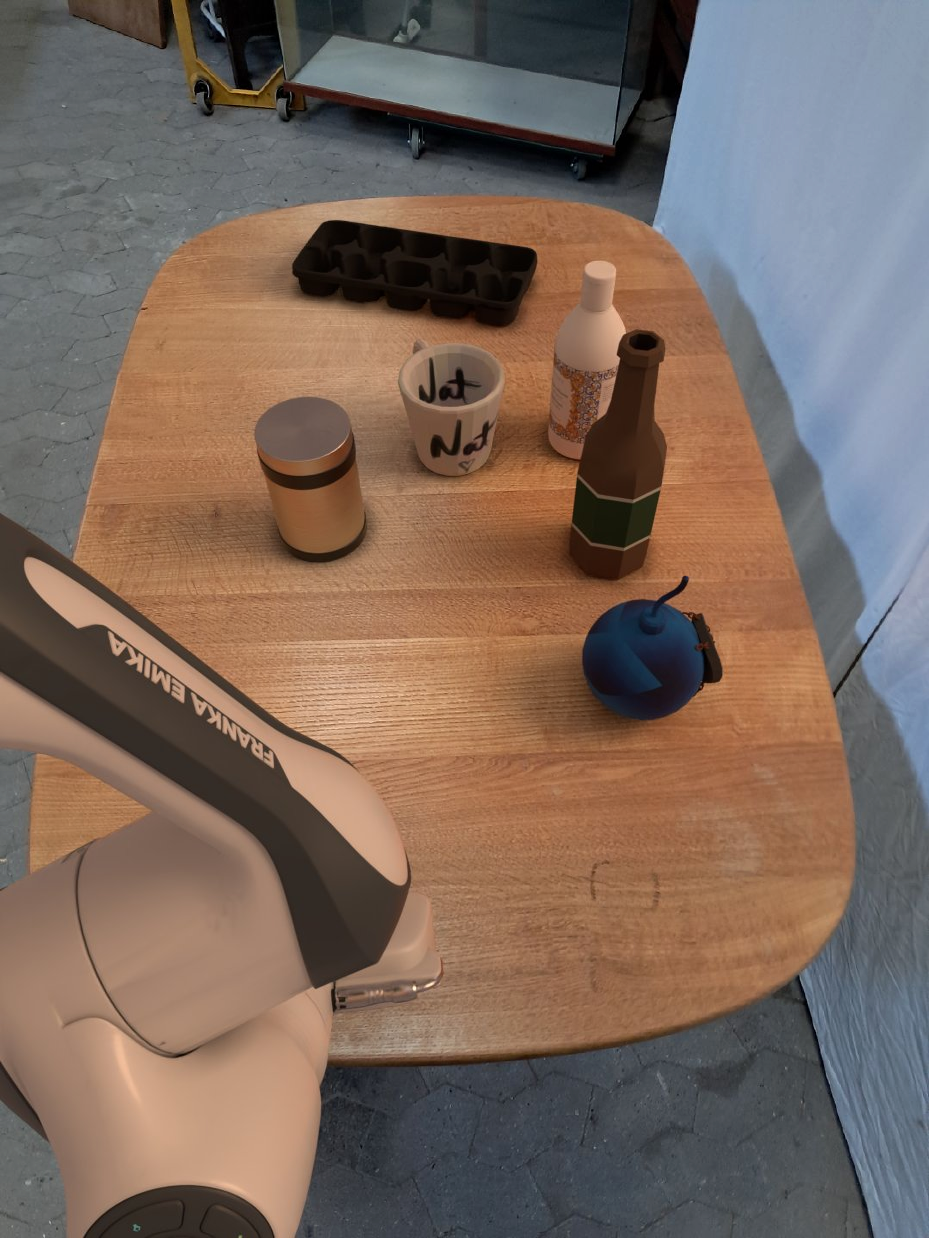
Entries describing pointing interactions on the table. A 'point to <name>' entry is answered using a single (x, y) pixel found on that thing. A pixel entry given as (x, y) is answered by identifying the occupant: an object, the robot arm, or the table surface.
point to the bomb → (649, 657)
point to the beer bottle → (621, 467)
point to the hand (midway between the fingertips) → (282, 898)
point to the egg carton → (416, 270)
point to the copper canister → (312, 477)
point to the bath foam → (585, 361)
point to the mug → (452, 404)
